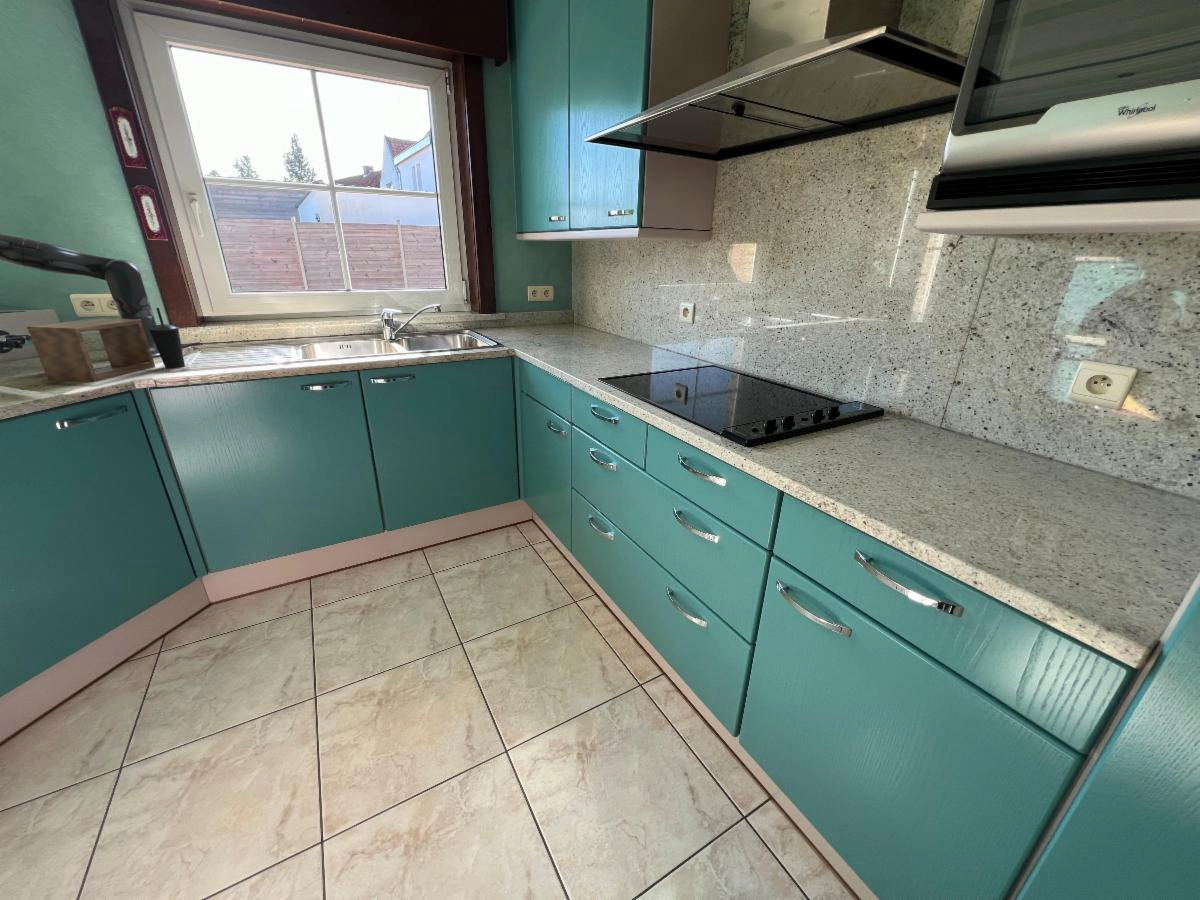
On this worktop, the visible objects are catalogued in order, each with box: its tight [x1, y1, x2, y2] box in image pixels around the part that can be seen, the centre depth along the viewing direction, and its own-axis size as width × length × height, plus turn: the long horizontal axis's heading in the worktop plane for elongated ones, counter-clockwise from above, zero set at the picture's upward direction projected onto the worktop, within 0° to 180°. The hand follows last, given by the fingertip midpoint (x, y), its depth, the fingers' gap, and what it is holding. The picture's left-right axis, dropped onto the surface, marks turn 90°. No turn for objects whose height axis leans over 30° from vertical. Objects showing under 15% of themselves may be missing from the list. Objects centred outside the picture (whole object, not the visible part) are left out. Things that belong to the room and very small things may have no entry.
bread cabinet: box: [26, 317, 156, 383], centre depth 149 cm, size 14×20×16 cm
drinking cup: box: [148, 307, 186, 370], centre depth 158 cm, size 8×8×20 cm
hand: (36, 342), depth 149 cm, fingers open, 8 cm apart
